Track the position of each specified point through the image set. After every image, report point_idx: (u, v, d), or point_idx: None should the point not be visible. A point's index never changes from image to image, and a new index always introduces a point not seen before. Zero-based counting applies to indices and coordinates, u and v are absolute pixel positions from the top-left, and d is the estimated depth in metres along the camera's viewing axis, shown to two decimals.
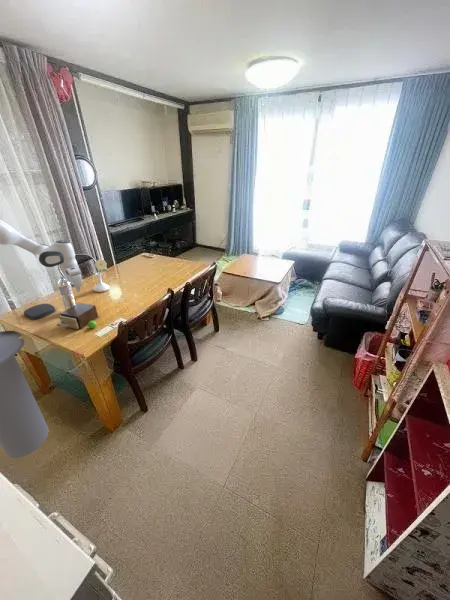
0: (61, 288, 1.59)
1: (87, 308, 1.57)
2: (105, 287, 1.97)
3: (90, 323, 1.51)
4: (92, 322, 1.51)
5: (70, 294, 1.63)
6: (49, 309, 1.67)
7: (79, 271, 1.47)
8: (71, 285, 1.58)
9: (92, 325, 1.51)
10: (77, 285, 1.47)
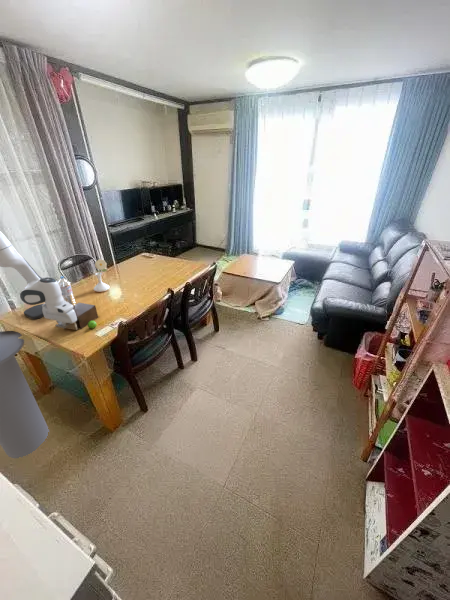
0: (61, 288, 1.59)
1: (87, 308, 1.57)
2: (105, 287, 1.97)
3: (90, 323, 1.51)
4: (92, 322, 1.51)
5: (70, 294, 1.63)
6: None
7: (72, 306, 1.41)
8: None
9: (92, 325, 1.51)
10: (73, 321, 1.42)
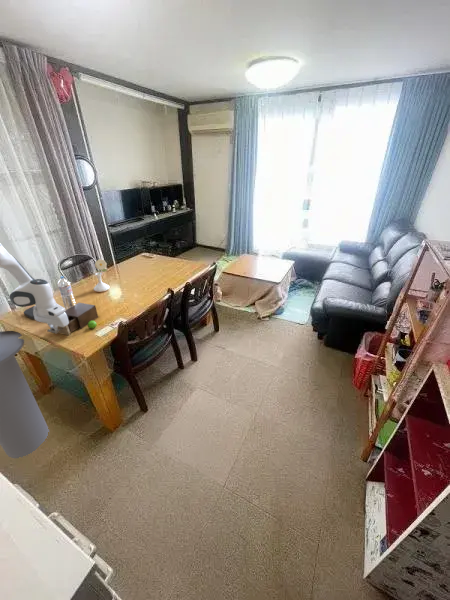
0: (61, 288, 1.59)
1: (87, 308, 1.57)
2: (105, 287, 1.97)
3: (90, 323, 1.51)
4: (92, 322, 1.51)
5: (70, 294, 1.63)
6: None
7: (64, 309, 1.36)
8: (52, 328, 1.41)
9: (92, 325, 1.51)
10: (65, 324, 1.37)
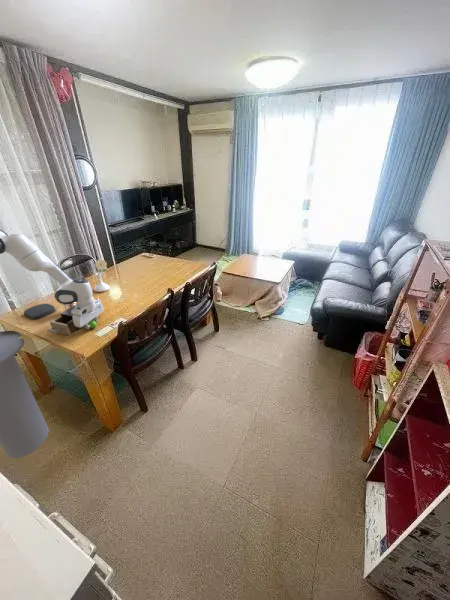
0: None
1: None
2: (105, 287, 1.97)
3: (90, 323, 1.51)
4: (92, 322, 1.51)
5: None
6: (49, 309, 1.67)
7: (79, 313, 1.39)
8: None
9: (92, 325, 1.51)
10: (75, 325, 1.42)
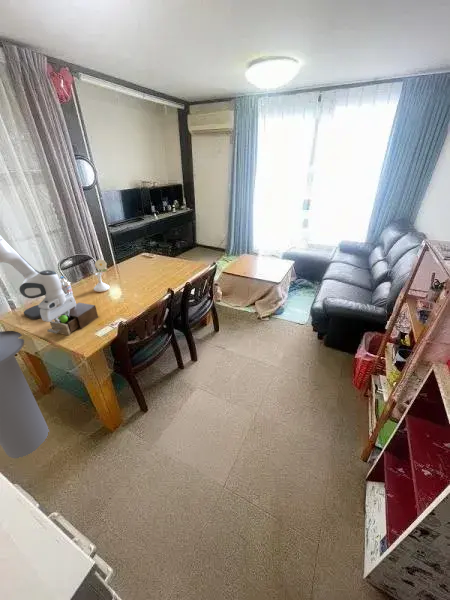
0: None
1: (87, 308, 1.57)
2: (105, 287, 1.97)
3: (60, 317, 1.44)
4: (63, 316, 1.45)
5: None
6: None
7: (46, 307, 1.33)
8: None
9: (63, 320, 1.45)
10: (43, 319, 1.36)
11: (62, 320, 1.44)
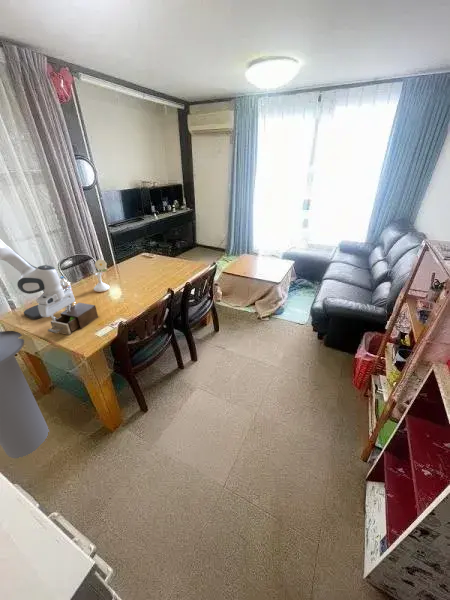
0: None
1: (87, 308, 1.57)
2: (105, 287, 1.97)
3: None
4: None
5: None
6: None
7: (44, 302, 1.31)
8: None
9: None
10: (41, 315, 1.34)
11: None
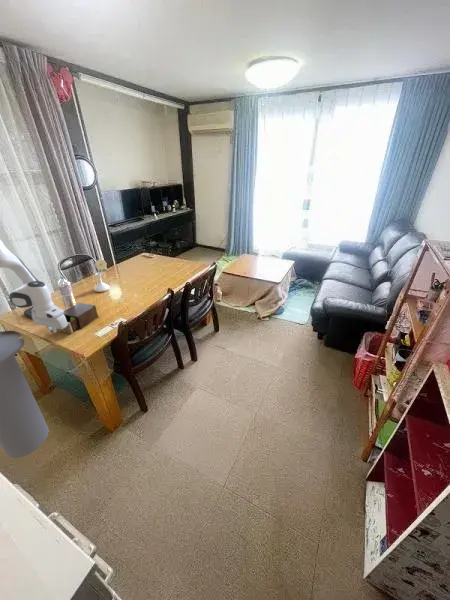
0: (61, 288, 1.59)
1: (87, 308, 1.57)
2: (105, 287, 1.97)
3: None
4: None
5: (70, 294, 1.63)
6: None
7: (62, 311, 1.35)
8: (51, 330, 1.40)
9: None
10: (63, 326, 1.36)
11: None
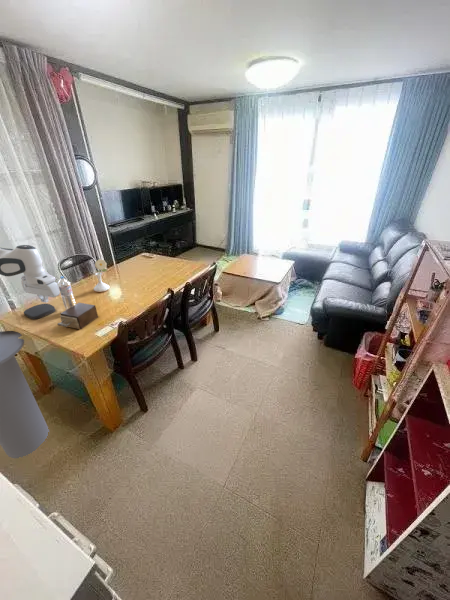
0: (61, 288, 1.59)
1: (87, 308, 1.57)
2: (105, 287, 1.97)
3: None
4: None
5: (70, 294, 1.63)
6: (49, 309, 1.67)
7: (54, 278, 1.28)
8: (42, 300, 1.33)
9: None
10: (55, 294, 1.28)
11: None
